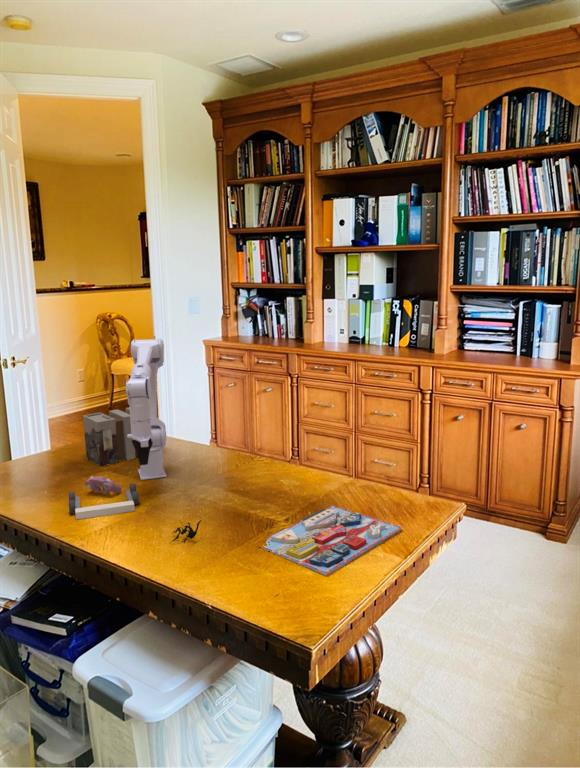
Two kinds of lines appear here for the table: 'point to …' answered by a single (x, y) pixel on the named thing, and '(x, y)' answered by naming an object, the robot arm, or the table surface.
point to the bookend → (108, 437)
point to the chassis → (106, 508)
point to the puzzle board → (330, 539)
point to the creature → (191, 532)
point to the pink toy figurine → (102, 485)
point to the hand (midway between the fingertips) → (143, 463)
